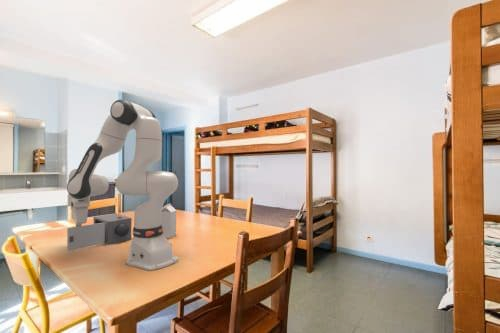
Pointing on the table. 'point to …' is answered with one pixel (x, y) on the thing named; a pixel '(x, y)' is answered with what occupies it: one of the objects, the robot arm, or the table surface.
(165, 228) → the milk carton
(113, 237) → the housing
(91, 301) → the table surface
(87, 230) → the door
